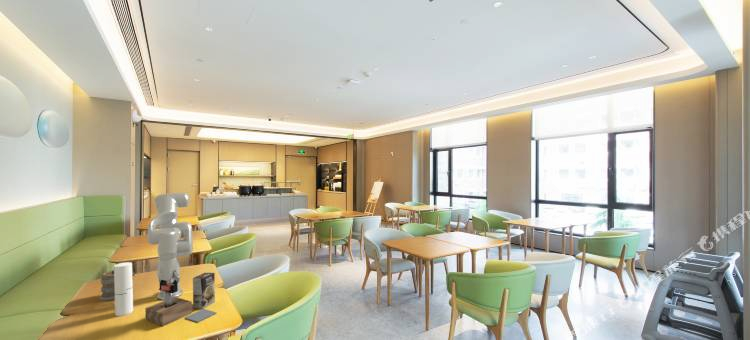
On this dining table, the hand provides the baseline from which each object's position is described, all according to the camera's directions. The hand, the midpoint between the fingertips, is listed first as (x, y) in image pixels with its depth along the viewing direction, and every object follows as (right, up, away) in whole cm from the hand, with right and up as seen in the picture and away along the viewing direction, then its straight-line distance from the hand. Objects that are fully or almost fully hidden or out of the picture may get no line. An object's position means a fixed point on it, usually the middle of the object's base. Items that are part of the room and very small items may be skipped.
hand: (168, 290), depth 152 cm
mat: (+16, -13, 0) cm, 20 cm away
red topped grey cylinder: (0, -13, 0) cm, 13 cm away
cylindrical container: (-26, -13, +5) cm, 30 cm away
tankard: (-45, -14, +25) cm, 54 cm away
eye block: (0, -13, 0) cm, 13 cm away
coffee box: (+11, -13, +13) cm, 21 cm away
